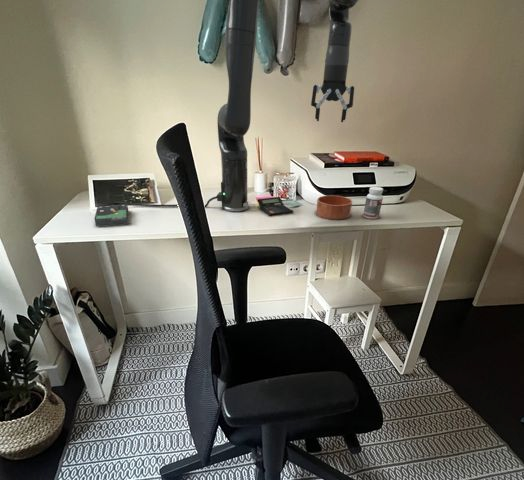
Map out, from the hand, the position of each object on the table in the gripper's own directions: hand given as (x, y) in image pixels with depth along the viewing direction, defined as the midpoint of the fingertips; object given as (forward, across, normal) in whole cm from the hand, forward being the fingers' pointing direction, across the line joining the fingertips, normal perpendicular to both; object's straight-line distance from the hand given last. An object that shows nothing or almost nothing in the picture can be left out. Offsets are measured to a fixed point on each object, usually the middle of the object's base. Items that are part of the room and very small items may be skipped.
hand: (329, 121), depth 130 cm
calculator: (+28, +17, +13) cm, 35 cm away
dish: (+28, -5, +13) cm, 31 cm away
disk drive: (+28, +71, +35) cm, 84 cm away
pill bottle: (+28, -19, +13) cm, 36 cm away
